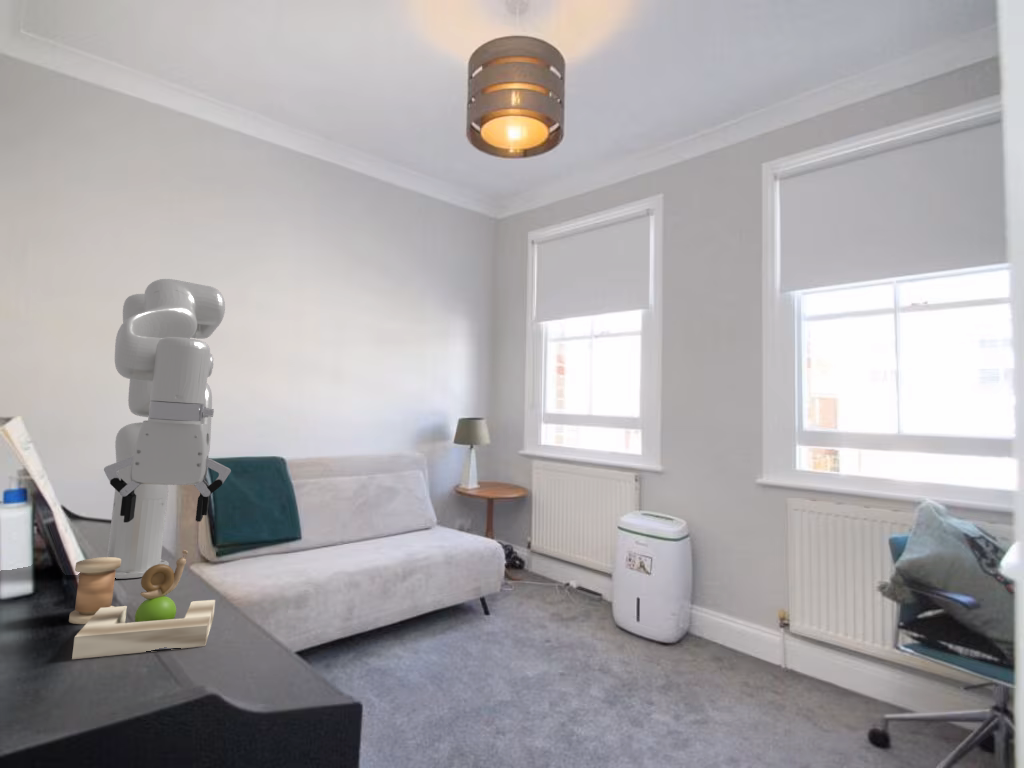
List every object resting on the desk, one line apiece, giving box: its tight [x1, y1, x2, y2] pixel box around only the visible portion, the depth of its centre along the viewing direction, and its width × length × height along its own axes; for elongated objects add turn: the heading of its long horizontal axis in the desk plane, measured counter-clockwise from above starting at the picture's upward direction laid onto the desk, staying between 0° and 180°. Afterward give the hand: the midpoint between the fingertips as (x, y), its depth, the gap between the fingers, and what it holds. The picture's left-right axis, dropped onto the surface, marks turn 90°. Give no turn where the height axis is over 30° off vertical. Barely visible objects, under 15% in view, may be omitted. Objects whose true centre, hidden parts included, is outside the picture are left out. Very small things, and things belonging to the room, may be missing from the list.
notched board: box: [71, 599, 216, 660], centre depth 82 cm, size 12×16×3 cm
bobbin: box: [68, 556, 121, 625], centre depth 88 cm, size 6×6×9 cm
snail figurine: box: [134, 549, 189, 622], centre depth 84 cm, size 5×6×12 cm
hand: (164, 520), depth 85 cm, fingers open, 9 cm apart
